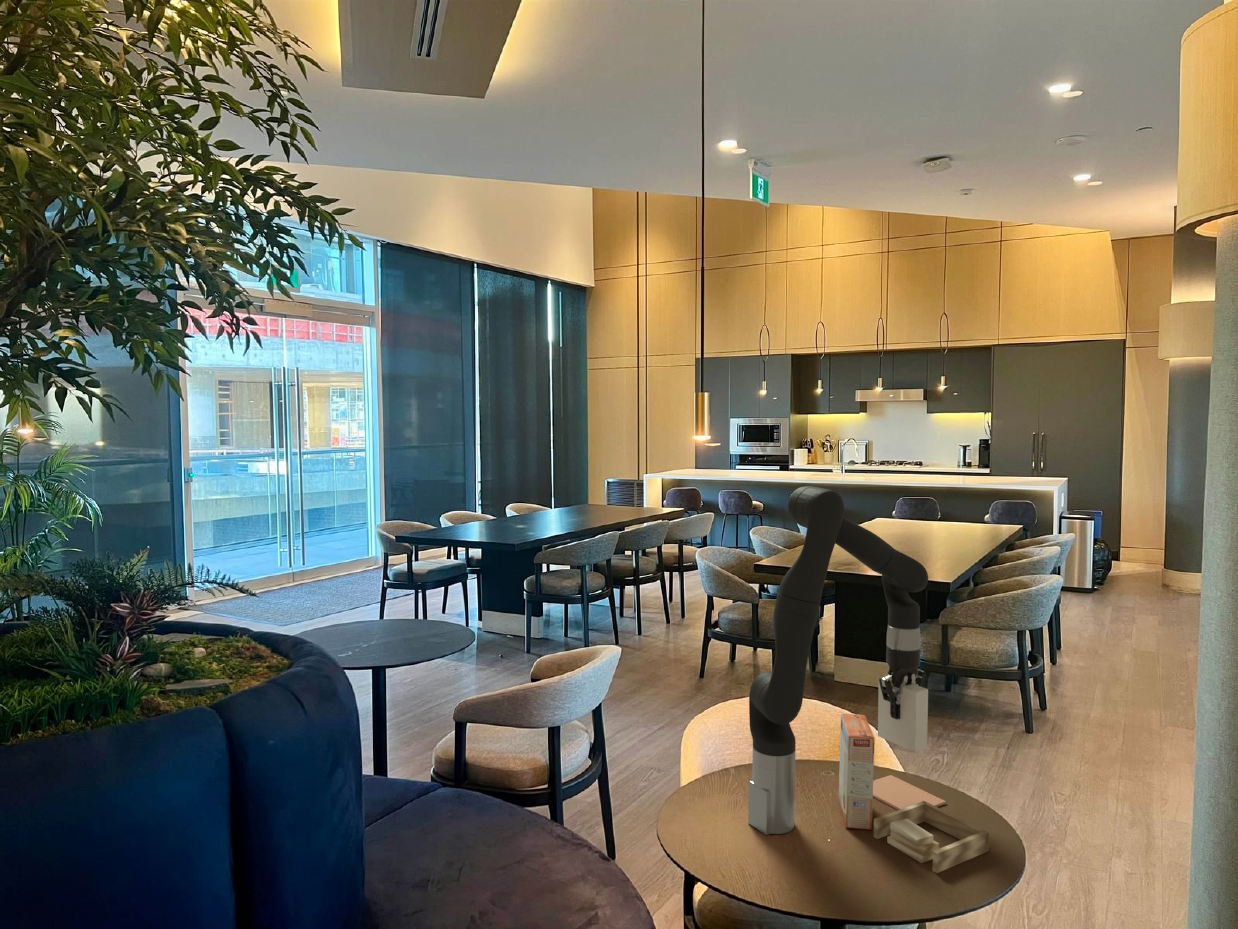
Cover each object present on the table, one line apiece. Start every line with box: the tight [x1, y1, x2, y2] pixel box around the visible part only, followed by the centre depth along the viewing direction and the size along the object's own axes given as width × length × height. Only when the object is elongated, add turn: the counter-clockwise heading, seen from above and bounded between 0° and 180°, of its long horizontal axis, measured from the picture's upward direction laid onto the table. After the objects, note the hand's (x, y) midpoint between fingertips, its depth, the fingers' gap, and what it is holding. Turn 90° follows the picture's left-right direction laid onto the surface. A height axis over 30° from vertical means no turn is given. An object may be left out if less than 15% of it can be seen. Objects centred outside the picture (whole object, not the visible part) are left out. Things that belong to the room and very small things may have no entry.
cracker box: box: [838, 713, 876, 831], centre depth 183 cm, size 14×6×21 cm, turn 171°
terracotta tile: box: [873, 774, 947, 811], centre depth 193 cm, size 12×16×1 cm
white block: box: [877, 676, 929, 753], centre depth 191 cm, size 4×11×14 cm, turn 30°
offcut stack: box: [886, 819, 940, 864], centre depth 169 cm, size 5×9×4 cm, turn 28°
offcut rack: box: [873, 801, 989, 874], centre depth 171 cm, size 16×16×4 cm
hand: (902, 716), depth 191 cm, fingers closed on white block, 4 cm apart
